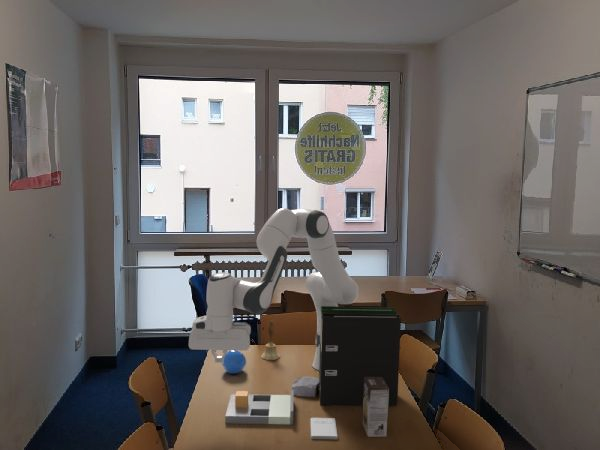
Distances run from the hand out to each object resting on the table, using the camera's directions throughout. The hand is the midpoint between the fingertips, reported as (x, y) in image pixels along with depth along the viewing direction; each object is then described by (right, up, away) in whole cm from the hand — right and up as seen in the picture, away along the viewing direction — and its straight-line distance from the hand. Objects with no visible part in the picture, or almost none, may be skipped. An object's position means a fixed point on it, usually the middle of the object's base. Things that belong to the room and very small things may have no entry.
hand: (219, 362), depth 189 cm
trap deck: (+14, -18, +2) cm, 22 cm away
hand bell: (+14, -12, +55) cm, 58 cm away
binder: (+48, -17, +15) cm, 53 cm away
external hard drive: (+35, -20, -9) cm, 41 cm away
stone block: (+29, -16, +22) cm, 40 cm away
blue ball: (0, -13, +37) cm, 40 cm away
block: (+7, -15, +2) cm, 17 cm away
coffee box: (+51, -20, -9) cm, 55 cm away
